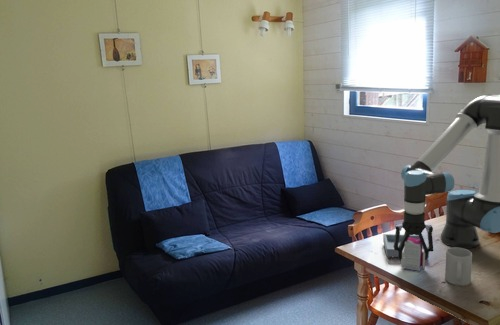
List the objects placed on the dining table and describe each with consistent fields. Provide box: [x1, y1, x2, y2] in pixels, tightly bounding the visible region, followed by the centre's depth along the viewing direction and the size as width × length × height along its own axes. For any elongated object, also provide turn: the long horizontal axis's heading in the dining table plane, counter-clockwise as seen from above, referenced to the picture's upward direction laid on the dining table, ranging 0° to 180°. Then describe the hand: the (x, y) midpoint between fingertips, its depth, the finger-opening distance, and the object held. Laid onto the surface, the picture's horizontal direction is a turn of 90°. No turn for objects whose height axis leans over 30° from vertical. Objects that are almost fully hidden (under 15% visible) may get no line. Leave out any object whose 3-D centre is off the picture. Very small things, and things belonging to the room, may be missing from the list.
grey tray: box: [382, 233, 430, 262], centre depth 178 cm, size 16×16×5 cm
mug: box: [444, 246, 473, 286], centre depth 151 cm, size 12×8×11 cm
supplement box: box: [403, 237, 422, 273], centre depth 163 cm, size 6×6×12 cm
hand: (412, 266), depth 165 cm, fingers open, 7 cm apart
